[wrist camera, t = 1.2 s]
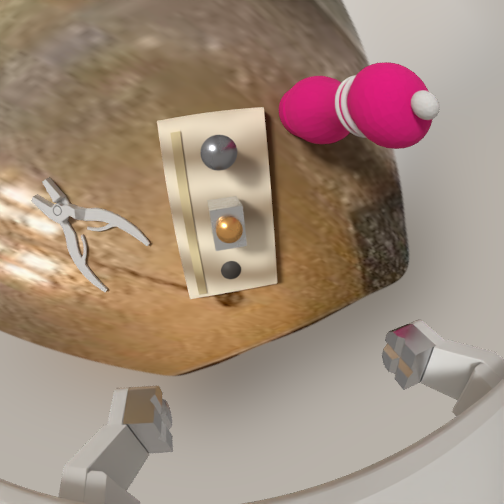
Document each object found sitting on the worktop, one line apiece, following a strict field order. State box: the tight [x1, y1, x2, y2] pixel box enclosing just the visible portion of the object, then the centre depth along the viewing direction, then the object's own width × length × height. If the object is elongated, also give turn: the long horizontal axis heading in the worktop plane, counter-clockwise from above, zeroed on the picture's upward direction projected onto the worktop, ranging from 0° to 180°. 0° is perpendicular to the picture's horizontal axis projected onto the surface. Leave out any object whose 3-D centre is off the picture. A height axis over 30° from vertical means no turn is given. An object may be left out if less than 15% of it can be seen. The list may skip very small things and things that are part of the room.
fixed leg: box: [200, 135, 237, 171], centre depth 26 cm, size 3×3×5 cm
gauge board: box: [157, 107, 277, 299], centre depth 31 cm, size 21×11×2 cm, turn 6°
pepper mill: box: [279, 63, 439, 149], centre depth 20 cm, size 7×7×20 cm
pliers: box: [32, 177, 150, 292], centre depth 29 cm, size 10×2×15 cm
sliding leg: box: [207, 196, 247, 251], centre depth 28 cm, size 4×3×5 cm
